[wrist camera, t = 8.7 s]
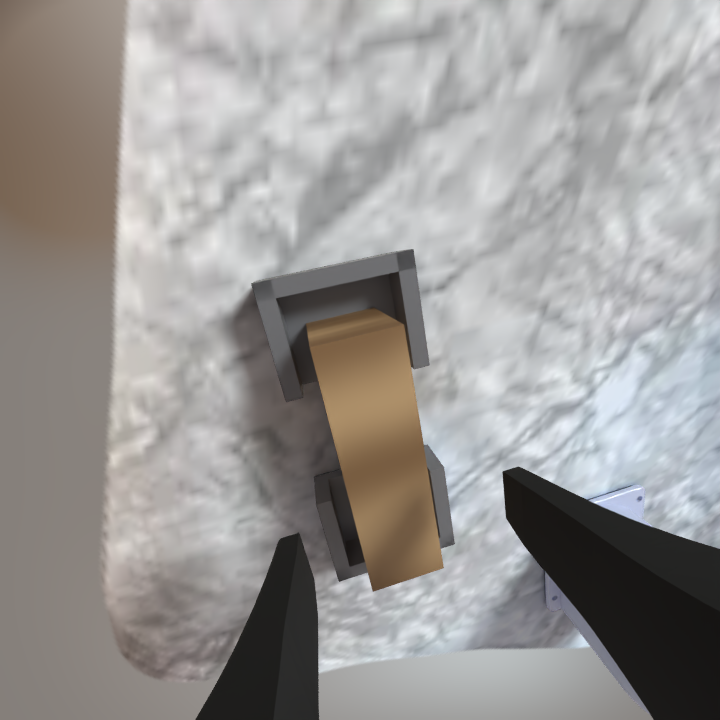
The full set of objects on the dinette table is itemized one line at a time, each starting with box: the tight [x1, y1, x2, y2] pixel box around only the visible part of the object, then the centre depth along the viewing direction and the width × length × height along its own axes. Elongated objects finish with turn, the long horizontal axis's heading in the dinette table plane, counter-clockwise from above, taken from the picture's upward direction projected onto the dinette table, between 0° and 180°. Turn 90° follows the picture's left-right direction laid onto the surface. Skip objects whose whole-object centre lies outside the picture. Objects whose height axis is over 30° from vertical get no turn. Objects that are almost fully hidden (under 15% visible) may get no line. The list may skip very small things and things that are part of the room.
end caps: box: [251, 249, 455, 582], centre depth 18 cm, size 17×7×2 cm, turn 11°
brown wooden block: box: [306, 308, 444, 591], centre depth 16 cm, size 12×4×5 cm, turn 12°
